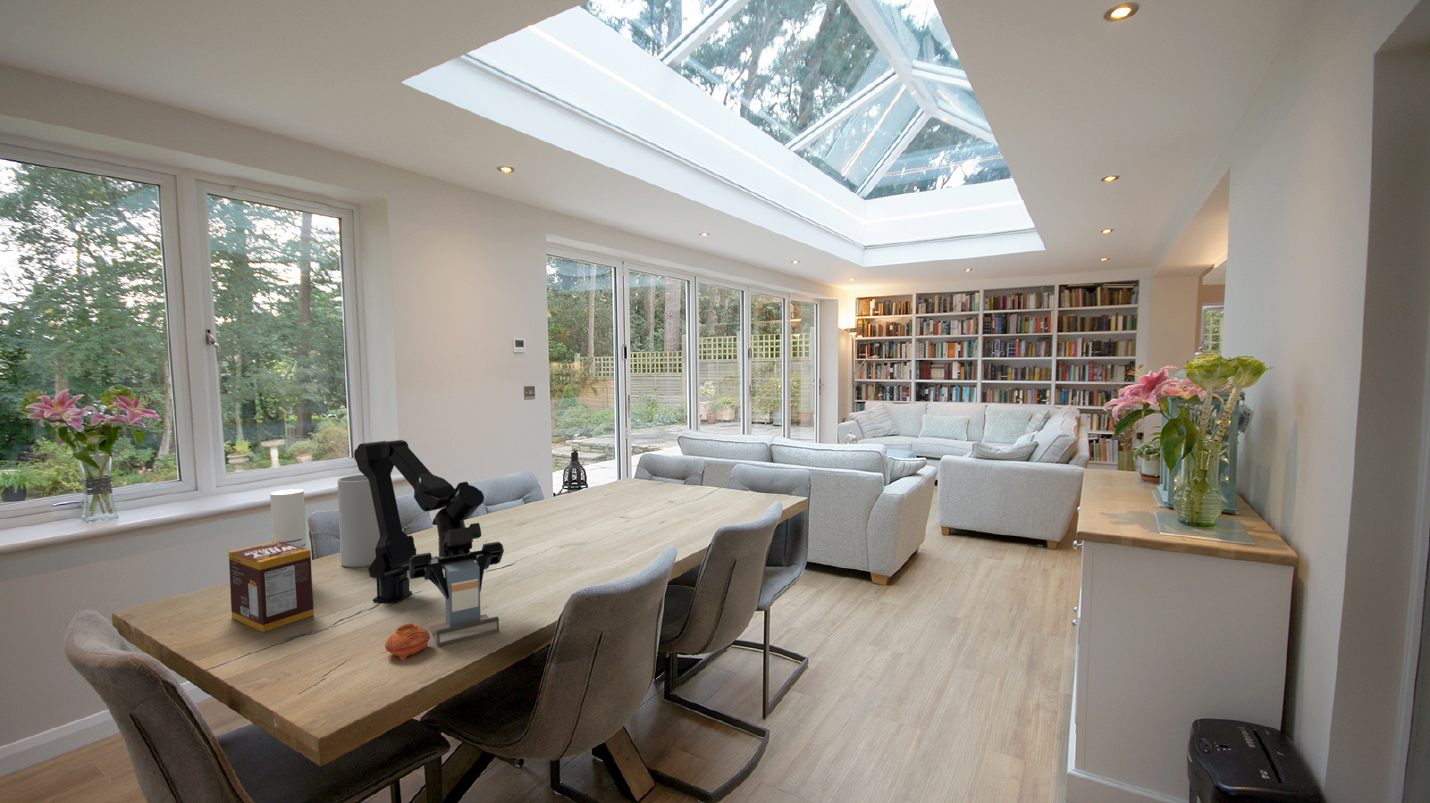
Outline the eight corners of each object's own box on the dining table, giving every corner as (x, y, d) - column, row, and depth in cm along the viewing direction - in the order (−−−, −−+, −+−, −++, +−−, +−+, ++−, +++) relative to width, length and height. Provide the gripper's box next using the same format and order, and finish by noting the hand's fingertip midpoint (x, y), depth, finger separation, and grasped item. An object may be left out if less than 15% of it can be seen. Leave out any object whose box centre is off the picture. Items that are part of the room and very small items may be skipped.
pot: (429, 661, 116) (418, 630, 115) (386, 675, 114) (375, 643, 113) (438, 642, 124) (429, 612, 123) (398, 654, 122) (388, 624, 121)
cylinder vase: (374, 568, 171) (371, 481, 170) (330, 568, 171) (327, 481, 170) (397, 554, 184) (395, 474, 182) (357, 554, 184) (354, 473, 182)
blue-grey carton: (445, 619, 129) (444, 565, 128) (475, 613, 132) (474, 560, 131) (450, 628, 124) (449, 572, 124) (480, 622, 128) (479, 566, 127)
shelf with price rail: (428, 631, 130) (428, 613, 130) (486, 618, 137) (485, 601, 136) (438, 651, 121) (437, 632, 120) (499, 636, 127) (498, 618, 127)
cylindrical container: (268, 588, 155) (263, 493, 154) (296, 579, 162) (292, 488, 161) (286, 592, 153) (281, 495, 151) (314, 583, 159) (310, 490, 158)
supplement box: (281, 602, 146) (278, 539, 145) (314, 615, 139) (311, 549, 138) (230, 617, 137) (227, 551, 137) (262, 632, 130) (259, 562, 129)
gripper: (409, 517, 125) (418, 585, 117) (500, 506, 135) (515, 567, 127) (404, 545, 132) (413, 611, 123) (492, 532, 142) (506, 592, 134)
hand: (463, 594), depth 127 cm, fingers closed on blue-grey carton, 6 cm apart
